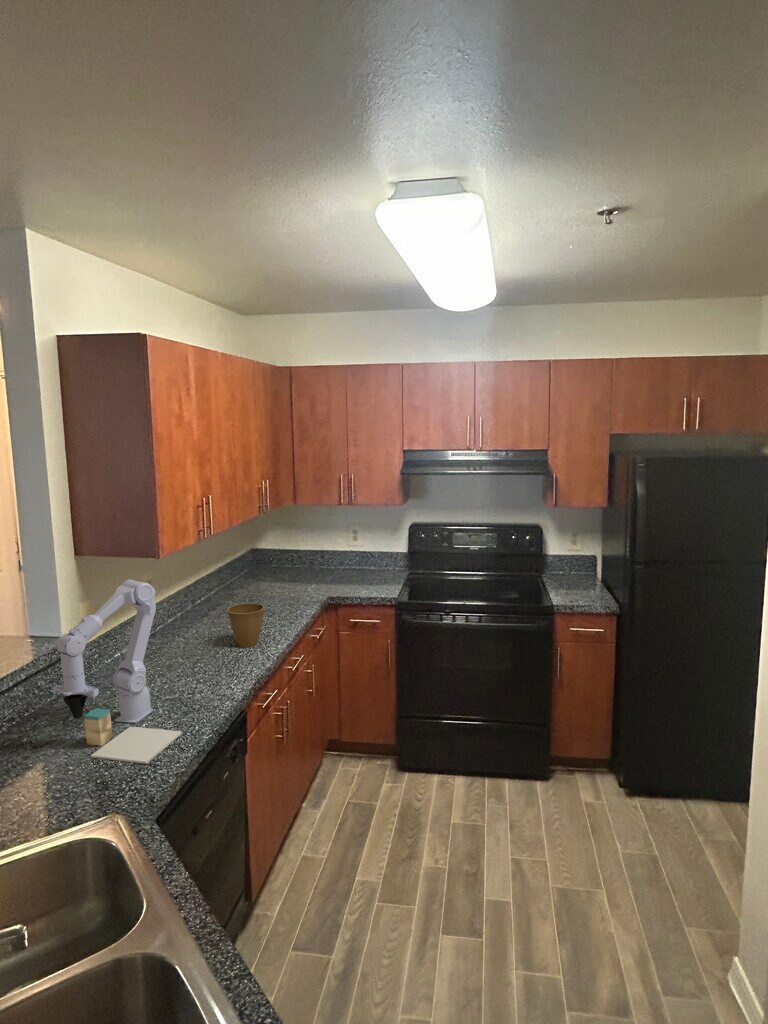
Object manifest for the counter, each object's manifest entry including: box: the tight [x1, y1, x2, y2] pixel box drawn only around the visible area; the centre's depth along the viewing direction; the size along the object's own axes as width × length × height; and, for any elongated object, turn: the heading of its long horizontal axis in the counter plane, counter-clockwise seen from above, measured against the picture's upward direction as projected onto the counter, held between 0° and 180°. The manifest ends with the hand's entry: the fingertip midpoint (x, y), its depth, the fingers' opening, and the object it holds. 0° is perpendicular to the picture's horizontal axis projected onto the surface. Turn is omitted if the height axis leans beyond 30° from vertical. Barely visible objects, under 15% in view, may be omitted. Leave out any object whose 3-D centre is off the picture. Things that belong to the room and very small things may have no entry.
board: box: [90, 726, 183, 765], centre depth 192 cm, size 18×18×1 cm
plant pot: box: [227, 602, 265, 648], centre depth 275 cm, size 15×15×16 cm
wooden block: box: [83, 708, 114, 747], centre depth 195 cm, size 5×5×9 cm
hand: (78, 717), depth 197 cm, fingers closed
